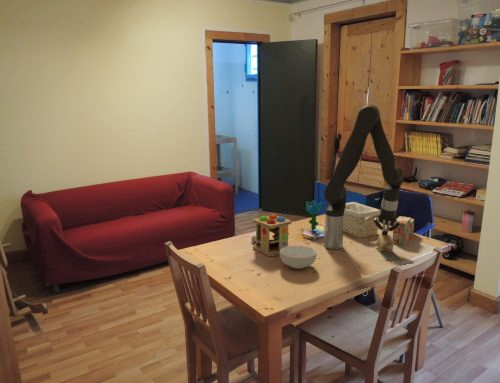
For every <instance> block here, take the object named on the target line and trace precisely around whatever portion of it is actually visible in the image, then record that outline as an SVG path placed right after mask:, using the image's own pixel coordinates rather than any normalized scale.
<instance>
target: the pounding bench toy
mask: <svg viewBox="0 0 500 383" xmlns="http://www.w3.org/2000/svg"><path fill="white" fill-rule="evenodd" d="M252 222H253V224H256V225H255V235H253V236H251V242H252V243H253V244H254V245H252V249H253V250H255V251H257V252H259V253H262V254H263V255H266V256H268V257H272V256H273V257H274V256H277V255H280V250H281V249H282V248H284V247H288V246H289V235H290V233H289V225H292V220H290V219H287V218H285V217H284V216H279V215H277V214H276V213H272V214H270V215H267V216H266V215H262V216H261V215H260V217H259V218H258V217H257V218H253V219H252ZM270 232H271V233H272V234H273V235H272V236H271V237H272V238H273V239H270Z"/></svg>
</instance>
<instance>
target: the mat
mask: <svg viewBox="0 0 500 383" xmlns="http://www.w3.org/2000/svg"><path fill="white" fill-rule="evenodd" d="M375 250H377V252H378V253H379V254H380V255H381V256H382V257H383V258H384V259H385V260H386V261H387V262H391V261H393V262H394V261H395V262H397V261H399V262H400V261H401V262H402V261H403V260H402V259H401V258H400V257H399V255H397V253H395V252H394V250H392V252H380V250H379V248H378V247H376V248H375Z"/></svg>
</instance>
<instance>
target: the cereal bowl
mask: <svg viewBox="0 0 500 383" xmlns="http://www.w3.org/2000/svg"><path fill="white" fill-rule="evenodd" d="M279 257H280V260H281V261H282V263H283V264H285V265H286V266H289V267H290V268H292V269H298V270H299V269H300V270H302V269H304V268H307V267H309V266H311V265H313V264H314V263H315V261H316V259H317V250H315V249H314V248H313V247H309V246H306V245H305V246H304V245H288V247H284V248H282V249H281V250H280V254H279Z"/></svg>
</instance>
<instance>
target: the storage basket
mask: <svg viewBox="0 0 500 383" xmlns="http://www.w3.org/2000/svg"><path fill="white" fill-rule="evenodd" d="M380 211H381V209H378V208H375V207H371V206H368V205H365V204H362V203H359V202H356V201H352V202H346V207H345V211H344V222H343V232H345V233H347V234H350V235H351V236H354V237H357V238H364V237H368V236H374V235H377V234H378V231H379V228H378V227H377V225H376V224H375V222H374V218H378V217H379V215H380Z"/></svg>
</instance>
